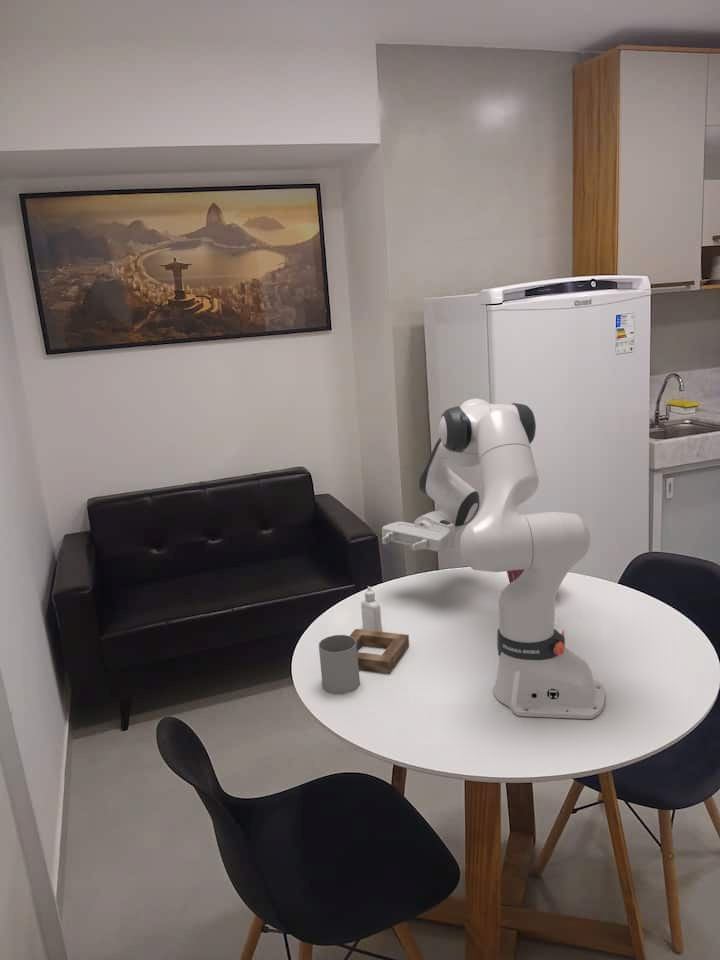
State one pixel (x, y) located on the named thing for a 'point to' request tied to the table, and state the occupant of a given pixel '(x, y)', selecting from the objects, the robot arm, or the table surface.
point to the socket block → (388, 641)
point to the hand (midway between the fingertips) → (397, 544)
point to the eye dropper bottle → (371, 612)
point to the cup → (339, 664)
